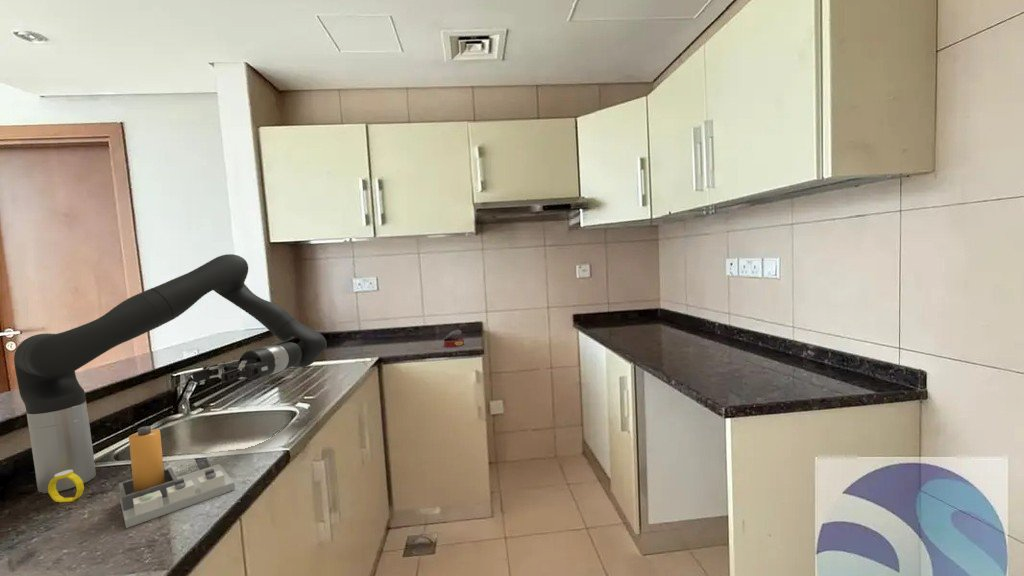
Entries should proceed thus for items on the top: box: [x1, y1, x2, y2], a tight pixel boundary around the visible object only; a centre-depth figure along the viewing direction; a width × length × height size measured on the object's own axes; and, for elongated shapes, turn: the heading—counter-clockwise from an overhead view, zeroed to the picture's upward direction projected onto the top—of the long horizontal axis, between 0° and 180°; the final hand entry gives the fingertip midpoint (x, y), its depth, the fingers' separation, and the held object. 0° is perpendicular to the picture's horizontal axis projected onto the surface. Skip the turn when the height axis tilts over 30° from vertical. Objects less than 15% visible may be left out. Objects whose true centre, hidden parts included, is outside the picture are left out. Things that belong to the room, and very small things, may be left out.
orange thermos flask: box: [128, 425, 165, 493], centre depth 90 cm, size 5×5×13 cm
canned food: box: [443, 329, 465, 348], centre depth 229 cm, size 11×10×10 cm
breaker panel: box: [118, 463, 236, 529], centre depth 91 cm, size 13×17×4 cm
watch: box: [48, 470, 85, 503], centre depth 92 cm, size 6×3×6 cm, turn 91°
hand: (207, 377), depth 103 cm, fingers open, 8 cm apart
